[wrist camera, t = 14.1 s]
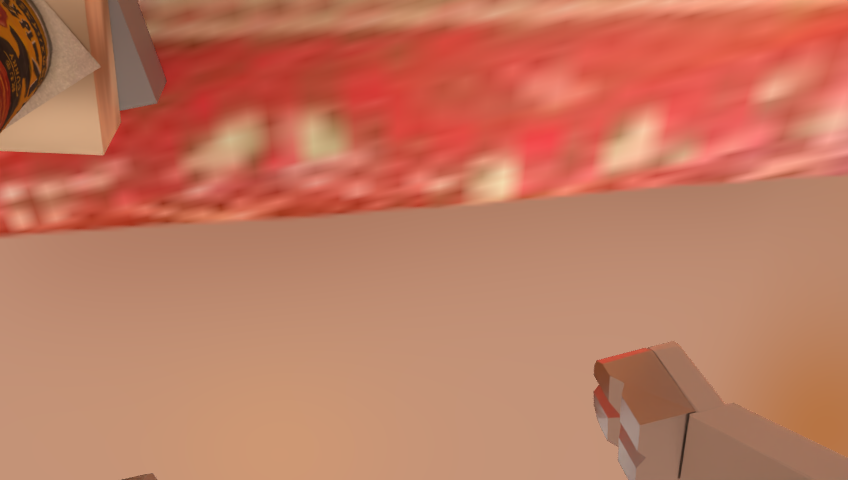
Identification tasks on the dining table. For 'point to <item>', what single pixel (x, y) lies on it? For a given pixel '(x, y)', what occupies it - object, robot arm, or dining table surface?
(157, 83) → the tower block lower
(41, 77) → the condiment
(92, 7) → the tower block upper
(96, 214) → the dining table surface
